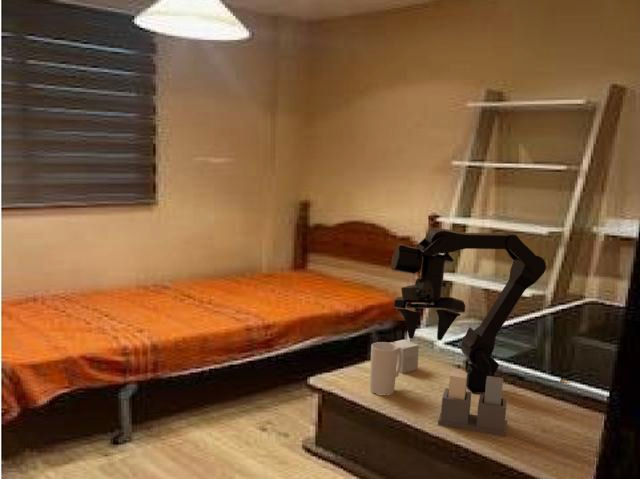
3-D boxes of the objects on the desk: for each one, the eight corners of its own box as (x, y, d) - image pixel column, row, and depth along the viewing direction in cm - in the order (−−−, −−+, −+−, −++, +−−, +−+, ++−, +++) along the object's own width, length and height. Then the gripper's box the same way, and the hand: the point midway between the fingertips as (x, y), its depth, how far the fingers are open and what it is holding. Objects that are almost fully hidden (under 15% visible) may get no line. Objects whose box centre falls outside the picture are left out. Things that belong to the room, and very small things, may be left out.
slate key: (484, 404, 144) (487, 375, 143) (500, 407, 143) (503, 378, 142) (483, 410, 141) (486, 381, 139) (499, 413, 139) (502, 383, 138)
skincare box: (418, 369, 177) (419, 345, 175) (401, 373, 173) (403, 348, 172) (403, 363, 182) (405, 338, 180) (387, 366, 178) (389, 342, 177)
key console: (441, 413, 149) (443, 387, 148) (506, 424, 144) (509, 397, 143) (437, 424, 143) (440, 397, 142) (505, 436, 138) (508, 408, 137)
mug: (381, 398, 156) (384, 352, 154) (363, 389, 161) (365, 345, 159) (409, 389, 162) (412, 345, 160) (390, 381, 167) (393, 338, 165)
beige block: (449, 398, 146) (451, 370, 145) (465, 401, 145) (467, 372, 144) (447, 404, 143) (449, 375, 142) (463, 407, 142) (466, 378, 141)
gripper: (383, 271, 159) (375, 332, 156) (440, 269, 145) (432, 336, 142) (412, 280, 166) (405, 339, 163) (469, 279, 152) (463, 343, 148)
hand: (424, 339), depth 154 cm, fingers open, 9 cm apart
